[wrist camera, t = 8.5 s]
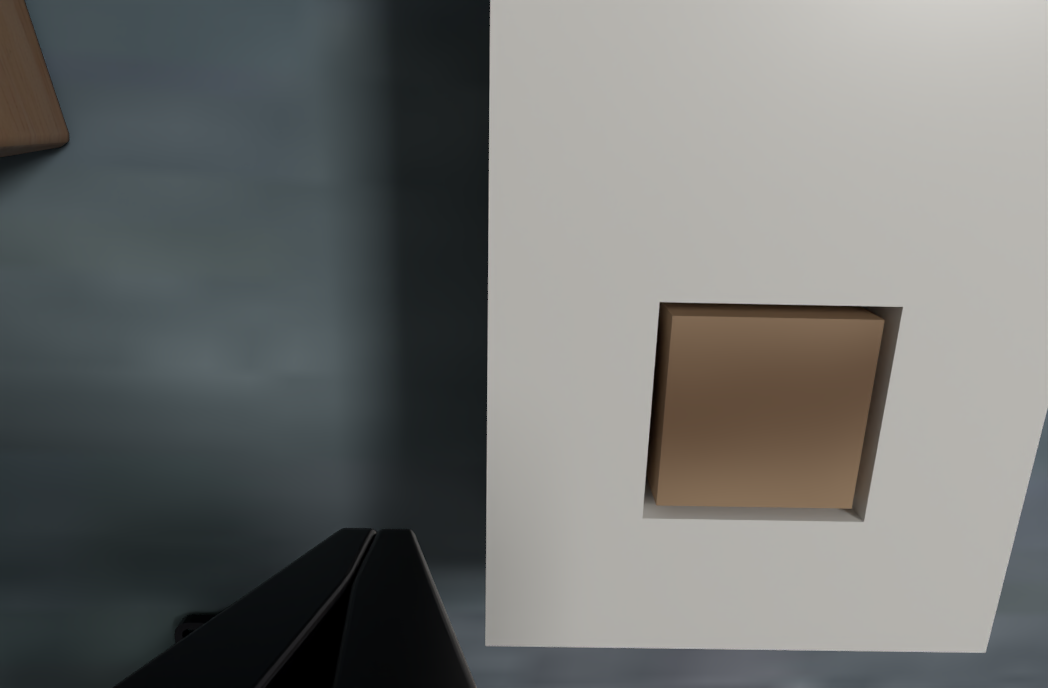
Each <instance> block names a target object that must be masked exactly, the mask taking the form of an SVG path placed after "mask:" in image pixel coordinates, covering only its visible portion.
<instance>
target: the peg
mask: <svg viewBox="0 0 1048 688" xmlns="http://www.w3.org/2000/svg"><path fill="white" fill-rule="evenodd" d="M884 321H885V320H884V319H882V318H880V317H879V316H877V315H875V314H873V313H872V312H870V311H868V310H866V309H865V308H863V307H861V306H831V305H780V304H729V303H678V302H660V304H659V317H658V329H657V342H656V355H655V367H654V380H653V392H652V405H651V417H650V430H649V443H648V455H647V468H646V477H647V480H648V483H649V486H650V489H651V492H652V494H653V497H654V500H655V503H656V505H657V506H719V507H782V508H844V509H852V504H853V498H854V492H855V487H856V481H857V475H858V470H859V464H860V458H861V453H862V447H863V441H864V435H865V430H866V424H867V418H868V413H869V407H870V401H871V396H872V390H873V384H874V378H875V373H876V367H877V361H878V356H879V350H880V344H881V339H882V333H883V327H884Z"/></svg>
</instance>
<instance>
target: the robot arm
mask: <svg viewBox="0 0 1048 688" xmlns="http://www.w3.org/2000/svg"><path fill="white" fill-rule="evenodd" d="M188 629H192V630H194V631H193V632H192V633H191V632H190V631H189V630H188ZM175 642H176V644H174V645H173V646H172V647H170V648H169V649H167V650H166V651H164V652H163V653H161V654H160V655H159V656H157V657H156V658H154V659H153V660H151V661H150V662H148V663H147V664H146V665H144V666H143V667H141V668H140V669H138V670H137V671H135V672H134V673H133V674H131V675H130V676H128V677H127V678H125V679H124V680H122V681H121V682H120V683H118V684H117V685H115V686H114V687H113V688H477V687H476V684H475V682H474V679H473V677H472V675H471V672H470V670H469V667H468V665H467V662H466V660H465V657H464V655H463V652H462V650H461V647H460V645H459V642H458V640H457V637H456V635H455V632H454V630H453V628H452V625H451V623H450V620H449V618H448V615H447V613H446V610H445V608H444V605H443V603H442V600H441V598H440V595H439V593H438V590H437V588H436V585H435V583H434V580H433V578H432V576H431V573H430V571H429V568H428V566H427V563H426V561H425V558H424V556H423V553H422V551H421V548H420V546H419V543H418V541H417V538H416V536H415V534H414V532H413V531H412V530H411V529H380V530H379V531H378V532H376V531H375V530H374V529H371V528H343V529H341V530H339V531H337V532H336V533H334V534H333V535H331V536H330V537H329V538H327V539H326V540H324V541H323V542H321V543H320V544H318V545H317V546H316V547H314V548H313V549H311V550H310V551H308V552H307V553H305V554H304V555H303V556H301V557H300V558H298V559H297V560H295V561H294V562H293V563H291V564H290V565H288V566H287V567H285V568H284V569H282V570H281V571H280V572H278V573H277V574H275V575H274V576H272V577H271V578H269V579H268V580H267V581H265V582H264V583H262V584H261V585H259V586H258V587H257V588H255V589H254V590H252V591H251V592H249V593H248V594H246V595H245V596H244V597H242V598H241V599H239V600H238V601H236V602H235V603H233V604H232V605H231V606H229V607H228V608H226V609H225V610H223V611H222V612H220V613H219V614H218V615H188V616H186V617H184V618H183V619H182V621H181V622H180V624H179V625H178V627H177V628H176V630H175Z"/></svg>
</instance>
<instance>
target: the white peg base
mask: <svg viewBox="0 0 1048 688" xmlns="http://www.w3.org/2000/svg"><path fill="white" fill-rule="evenodd" d="M660 302H678V303H729V304H780V305H831V306H861V307H863V308H865V309H866V310H868V311H870V312H872V313H873V314H875V315H877V316H879V317H880V318H882V319H884V320H885V321H884V327H883V333H882V339H881V344H880V350H879V356H878V361H877V367H876V373H875V378H874V384H873V390H872V396H871V401H870V407H869V413H868V418H867V424H866V430H865V435H864V441H863V447H862V453H861V458H860V464H859V470H858V475H857V481H856V487H855V492H854V498H853V504H852V509H844V508H782V507H719V506H657V505H656V503H655V500H654V497H653V494H652V492H651V489H650V486H649V483H648V480H647V477H646V468H647V455H648V443H649V430H650V417H651V405H652V392H653V380H654V367H655V355H656V342H657V329H658V317H659V304H660ZM1047 408H1048V0H490V91H489V226H488V361H487V497H486V632H485V646H525V647H599V648H674V649H748V650H822V651H897V652H971V653H985V652H986V648H987V645H988V641H989V637H990V633H991V629H992V625H993V621H994V617H995V613H996V609H997V605H998V601H999V597H1000V593H1001V589H1002V585H1003V581H1004V578H1005V574H1006V570H1007V566H1008V562H1009V558H1010V554H1011V550H1012V546H1013V542H1014V538H1015V534H1016V530H1017V526H1018V522H1019V518H1020V514H1021V511H1022V507H1023V503H1024V499H1025V495H1026V491H1027V487H1028V483H1029V479H1030V475H1031V471H1032V467H1033V463H1034V459H1035V455H1036V451H1037V447H1038V444H1039V440H1040V436H1041V432H1042V428H1043V424H1044V420H1045V416H1046V412H1047Z"/></svg>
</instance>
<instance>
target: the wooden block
mask: <svg viewBox="0 0 1048 688" xmlns="http://www.w3.org/2000/svg"><path fill="white" fill-rule="evenodd" d="M68 141H69V132H68V129H67V126H66V123H65V120H64V117H63V114H62V111H61V108H60V105H59V102H58V99H57V96H56V93H55V90H54V87H53V84H52V81H51V78H50V75H49V72H48V69H47V66H46V63H45V60H44V57H43V54H42V51H41V48H40V45H39V42H38V39H37V36H36V33H35V30H34V27H33V24H32V21H31V18H30V15H29V12H28V9H27V6H26V3H25V0H0V157H5V156H11V155H17V154H23V153H28V152H34V151H40V150H46V149H52V148H57V147H61V146H62V145H64V144H65V143H67V142H68Z"/></svg>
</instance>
